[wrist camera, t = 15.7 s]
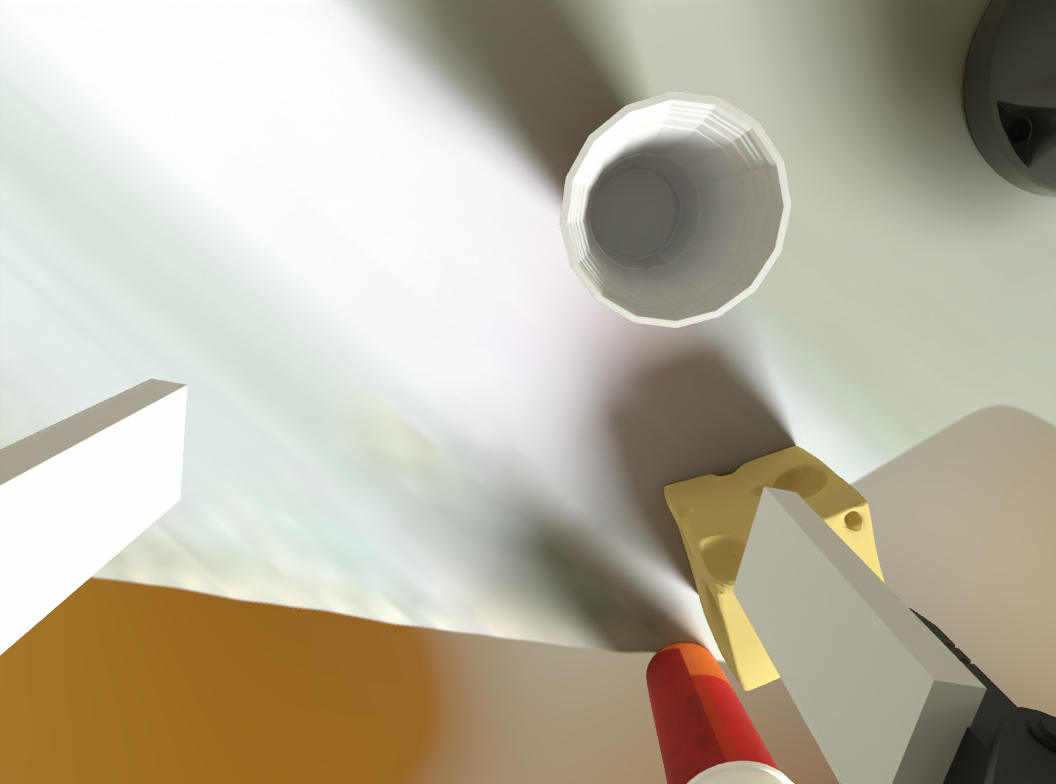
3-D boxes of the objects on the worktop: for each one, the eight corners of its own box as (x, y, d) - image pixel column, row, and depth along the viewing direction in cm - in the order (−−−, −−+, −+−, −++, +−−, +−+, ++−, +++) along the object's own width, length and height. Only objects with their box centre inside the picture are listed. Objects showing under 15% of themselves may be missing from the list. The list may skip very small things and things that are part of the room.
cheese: (658, 484, 48) (696, 553, 39) (804, 436, 48) (880, 494, 38) (696, 605, 51) (740, 698, 41) (834, 561, 50) (913, 645, 41)
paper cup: (640, 722, 54) (686, 896, 40) (624, 640, 52) (667, 794, 38) (738, 704, 53) (817, 872, 40) (726, 620, 51) (805, 767, 38)
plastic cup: (539, 128, 42) (553, 98, 30) (714, 115, 42) (794, 80, 30) (551, 304, 45) (568, 338, 33) (714, 291, 45) (788, 320, 33)
